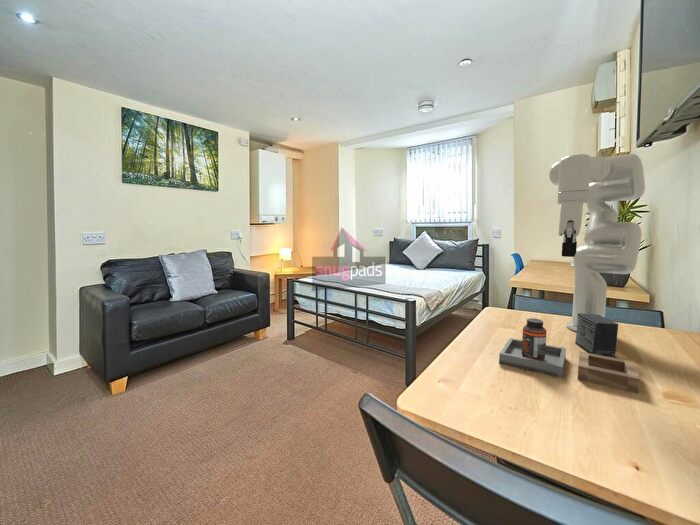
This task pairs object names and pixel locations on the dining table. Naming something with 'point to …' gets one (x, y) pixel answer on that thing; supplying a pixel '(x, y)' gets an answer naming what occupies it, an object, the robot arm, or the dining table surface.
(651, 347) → the dining table surface
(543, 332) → the supplement bottle
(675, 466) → the dining table surface
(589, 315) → the small box
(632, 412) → the dining table surface
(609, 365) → the holder block
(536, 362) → the tray
